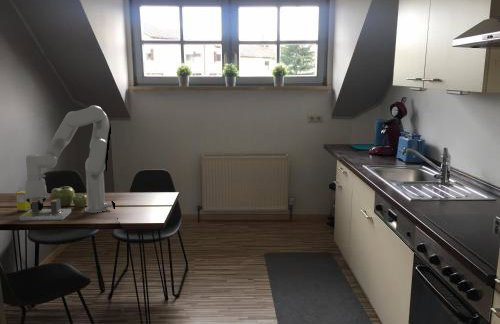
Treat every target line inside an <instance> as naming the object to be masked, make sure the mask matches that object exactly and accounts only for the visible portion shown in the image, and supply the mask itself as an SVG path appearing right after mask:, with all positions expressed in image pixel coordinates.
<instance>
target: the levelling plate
mask: <svg viewBox="0 0 500 324" xmlns="http://www.w3.org/2000/svg"><path fill="white" fill-rule="evenodd" d="M42 211H49V212H50V213H51V214H50V215H39V213H32V209H30V210H29V211H27V212H23V213H22V214H21V215H19V217H18V218H19V221H59V220H60V221H61V220H64V219H65V218H66V217H68V216H69V215H70V214H71V213H72V208H61V212H58V213H52V212H51V208H45V209H44V208H43V209H42Z"/></svg>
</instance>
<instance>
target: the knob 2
mask: <svg viewBox="0 0 500 324" xmlns="http://www.w3.org/2000/svg"><path fill="white" fill-rule="evenodd" d="M61 205H62V203H61V198H54V199H53V200H51V201H50V209H51V212H52V213H58V212H61V209H62V206H61Z"/></svg>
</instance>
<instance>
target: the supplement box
mask: <svg viewBox="0 0 500 324" xmlns="http://www.w3.org/2000/svg"><path fill="white" fill-rule="evenodd" d="M24 195H25V190H21V191H18V192H16V193H15V196H16V197H15V198H16V209H17V210H16V211H17V212H23V213H26V212H27V211H29V210H30V209H31V205H30V203H29V202H27V201H26V200H23V197H24ZM28 199H30V198H28Z"/></svg>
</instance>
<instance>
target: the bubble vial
mask: <svg viewBox="0 0 500 324" xmlns="http://www.w3.org/2000/svg"><path fill="white" fill-rule="evenodd" d="M50 214H51V213H50V212H49V211H40V213H39V215H50Z"/></svg>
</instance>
